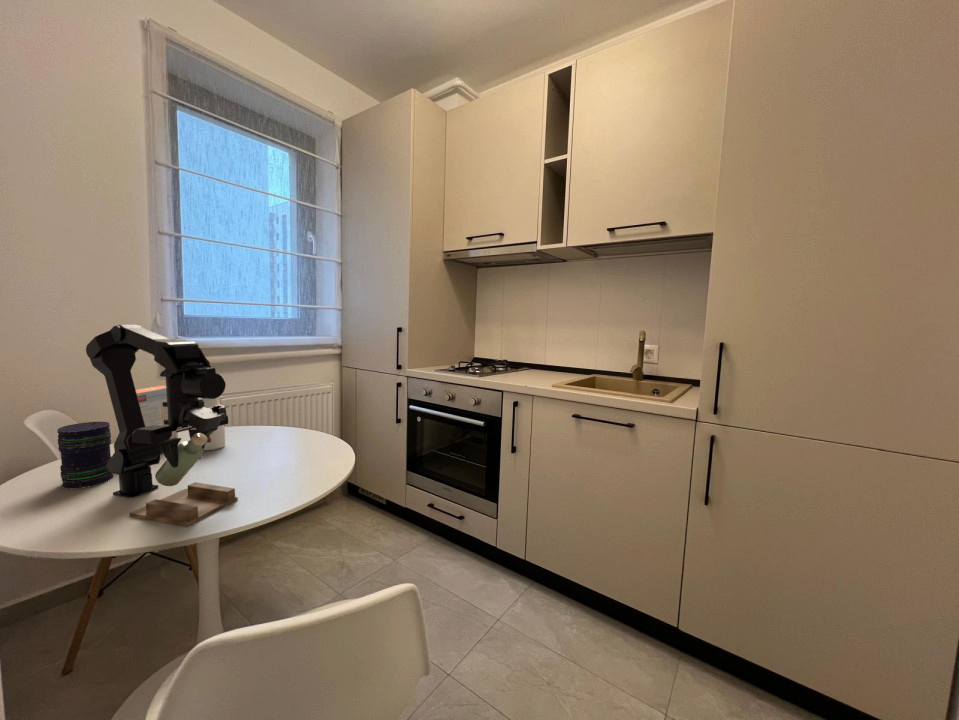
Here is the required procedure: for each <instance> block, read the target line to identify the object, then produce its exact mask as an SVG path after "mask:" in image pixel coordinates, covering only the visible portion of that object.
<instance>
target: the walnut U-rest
mask: <svg viewBox="0 0 959 720" xmlns="http://www.w3.org/2000/svg"><path fill="white" fill-rule="evenodd" d="M237 501H238V496H236V488H234V487H228V486H222V485H221V486H220V485H216V484H209V483H202V482H192V483H190V484H188V485H187V488H184V489H181V490H179V491H177V492H175V493H173V494H169V495H167V496H165V497H163V498H161V499H157V498H155V499H152V500H150V501H147V502H146V503H145V505H144V506H142V507H139V508H137V509H135V510H133V511H130V512H129V517H131V518H136V519H137V518H138V519H143V520H147V521H153V522H158V523H163V524H167V525H168V524H170V525H173V526H179V527H183V528H188V527H189V526H192V525H194V524H196V523H197V522H199V521H200V520H203V519H205V518H206V517H209V516H211V515H212V514H214V513H216V512H218V511H220V510H222V509H223V508H226V507H228V506H230V505H231V504H233V503H235V502H237Z"/></svg>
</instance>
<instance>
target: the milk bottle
mask: <svg viewBox="0 0 959 720" xmlns="http://www.w3.org/2000/svg"><path fill="white" fill-rule="evenodd" d="M201 399H203V401H204V406H205V407H206V408H210V407H212V408H213V407H214V406H218V405H221V404H220V401H219V399H218V398H215V399H207V398H201ZM225 426H226V425H222V426H219V427H218V429H217V430H215V431H214V432H213V433H212V434H210V435H209V437H208V440H207V442H206V444H205V447H204V450H203V451H214V450H219V449H222V448H224V447H225V446H226V434H225V433H226V430H225V429H226V428H225Z"/></svg>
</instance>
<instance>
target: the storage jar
mask: <svg viewBox="0 0 959 720" xmlns="http://www.w3.org/2000/svg"><path fill="white" fill-rule="evenodd" d="M57 444H58V452H60V460H61V465H60V467H59V468H60V474H59V475H60V479H61V482H62V485H61V487H62V486H63V487H64V488H63V487H62V488H63V489H65V488H80V489H83V488H82V487H86V488H89V487H88V486H91V487H94V486H93V485H95V486H98V485H97V484H99V485H102V484H105V483H107V482H109V481H111V480H112V479H113V478H114V473H110V472H109V471H108V467H107V463H108V461H109V460H110V458H111V457H112V456H111V444H112V434H111V428H110V422H108V421H90V422H80V423H74V424H70V425H69V424H68V425H65V426H62V427H59V428H57ZM110 479H111V480H110ZM108 480H109V481H108ZM106 481H107V482H106ZM104 482H105V483H104ZM101 483H102V484H101Z"/></svg>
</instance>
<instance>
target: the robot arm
mask: <svg viewBox="0 0 959 720" xmlns="http://www.w3.org/2000/svg"><path fill="white" fill-rule="evenodd" d="M139 350H142V351H143V352H146V353H148V354H151V355H152V356H154V357H153V358H154V359H153V361H154V362H156V363H157V365H158V364H159V365H160V366H161V367H162V368H164V369H163V370H162V371H161V372H160V373H159V376H160V377H162V378H165V386H166V392H167V402H163V407H167V408H168V419H167V420H164V425H169V426H154V425H152V426H147V427H146V426H145V423H144V420H143V416H142V412H141V408H140V405H139V401H138V397H137V393H136V390H137V389H136V386H135V382H134V379H133V375H132V368H133V367H134V364H135V363H136V360H137V358H136V353H137V352H138V351H139ZM85 353H86V356H87V358H89V359H90V363H91V366H92V367H93V368H94V369H96V370H97V371H98V372H99V373H101V374H102V375H104V378H105V381H106V385H107V390H108V393H109V398H110V401H111V405H112V408H113V412H114V416H115V420H116V423H117V427H118V435H117V437H116V439H115V441H114V443H113V449H114V453H113V454H112V456H111V458H110V460H109V461H108V463H107V467H108V471H109V472H110V473H112V474H113V475H114V474H115V475H118V482H119V490H117V491H114V492H112V495H113V496H118V497H124V498H129V499H134V498H136V497H138V496H140V495H144V494H145V493H146V494H147V493H149V492H151V491H154V490H156V489H159V485H157V484H153V473H152V466H154V465H159V464H160V460H161V456H162V454H163V456H164V457H165V458H166V460H168V461H169V463H170V464H171V466H172V467H178V445H179V444H180V443H181V440H182V438H181V437H178V438H176V433H177V432H178V433H180V432H183V431H184V432H185V431H188V435H189V438H190V439H189V441H190V440H191V438H192V436H193V435H194V434H196V433H202V434H204V435H206V437H207V438H208V437H209V435H210V434H212V433H213V432H214V431H215V430H217V429H218V427H219V426H222V425H225V426H226V425H229V416H228V414H227V409H226V406H225V405H222V404H220V405H218V406H214V407H213V408H212V407H210V408H206V407H205V406H204V401H203V399H202V398H207V399H215V398H217V399H218V398H219V397H220V396H222V394H223V393H224V392H225V390H226V385H227V383H226V381H225V379H224V378H223V376H222V375H221V374H219V373H216V372H217V371H216V367H212V365H211V363H210V361H209V359H207V357H206V355H205V354H204V352H203V350H202V349H201V347H200V346H199V344H198V343H197V342H195V341H193V340H188V339H187V340H185V339H172V338H169V337H166V336H164V335H161V334H158V333H156V332H154V331H151V330H149V329H147V328H145V327H143V326H142V325H138V324H117V325H114V326H112V327H111V328H110V329H109V330H108V331H107V330H106V331H105V332H103V333H100V334H98V335H96V336H94V337H93V338H92V340H90V341H89V343H87V345H86V347H85ZM205 444H206V443H205ZM205 444H204V445H203V446H202V448H203V451H205V450H204V447H205ZM201 459H202V456H201V457H200V458H199V459H198V461H199V460H201Z"/></svg>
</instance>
